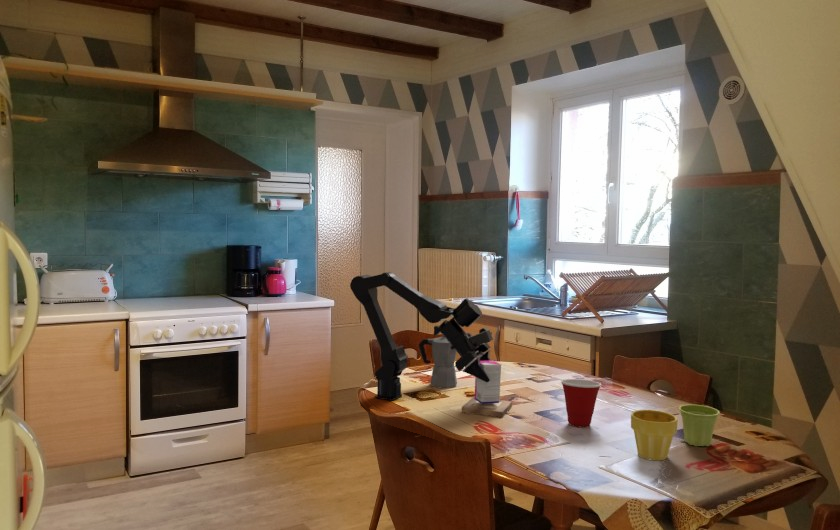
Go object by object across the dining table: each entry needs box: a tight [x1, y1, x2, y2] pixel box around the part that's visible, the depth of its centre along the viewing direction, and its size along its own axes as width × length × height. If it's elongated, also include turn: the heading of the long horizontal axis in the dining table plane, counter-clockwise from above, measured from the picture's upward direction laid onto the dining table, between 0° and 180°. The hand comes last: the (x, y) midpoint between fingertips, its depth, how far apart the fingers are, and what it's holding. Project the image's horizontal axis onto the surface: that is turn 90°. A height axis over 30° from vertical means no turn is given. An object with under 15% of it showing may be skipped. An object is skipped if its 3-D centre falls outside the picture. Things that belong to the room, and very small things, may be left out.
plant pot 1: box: [630, 409, 679, 461], centre depth 159 cm, size 10×10×10 cm
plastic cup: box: [560, 378, 602, 428], centre depth 182 cm, size 11×11×12 cm
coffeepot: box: [418, 335, 458, 389], centre depth 223 cm, size 15×9×18 cm, turn 103°
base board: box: [461, 396, 513, 418], centre depth 195 cm, size 12×12×2 cm
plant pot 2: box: [678, 404, 721, 447], centre depth 169 cm, size 9×9×9 cm
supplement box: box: [473, 359, 502, 404], centre depth 195 cm, size 6×6×12 cm
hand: (492, 378), depth 194 cm, fingers closed on supplement box, 8 cm apart
